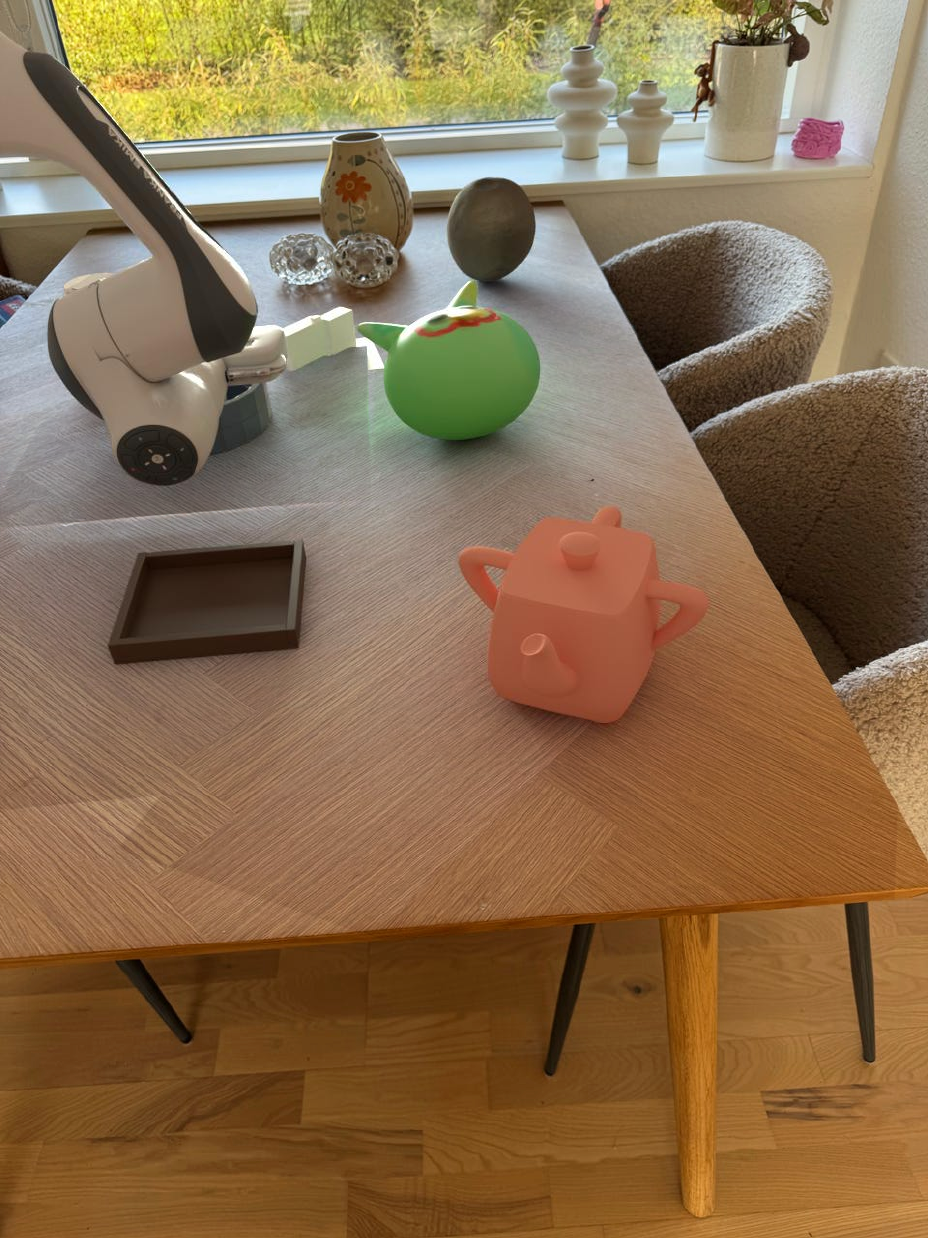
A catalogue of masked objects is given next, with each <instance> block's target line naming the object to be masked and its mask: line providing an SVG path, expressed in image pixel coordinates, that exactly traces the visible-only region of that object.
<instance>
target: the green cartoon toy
mask: <svg viewBox="0 0 928 1238" xmlns="http://www.w3.org/2000/svg"><path fill="white" fill-rule="evenodd" d="M478 287H479V286H478V283H477V280H469V281H467V282H466V283H465V284H464V285H463V287H461V289H460V290H459V291H458V292H457V294H456V295H455V296H454V298H453V299H452V301H451V302H450V303H449V305H448V306H447V307H446V308H445V309H442V310H438V311H436V312H432V313H430V314H428V315H425V316H424V317H421V318H419V319H418V320H416V321H415V322H413V323H412V324H410V325H403V324H402V325H401V324H393V323H384V322H374V321H373V322H371V321H370V322H361V323H359V324H358V325H357V327H356V330H357V332H358V333H359V334H360V335H361V336H363V338H367V339H369V340H370V341H372V342H373V343H374V345H377V346H378V347H380V348H382V349H383V350H385V351H386V352H387V355H386V357H385V361H384V364H383V365H384V368H383V378H382V379H383V386H384V392H385V395H386V398H387V401H388V402H389V405H390V407H392V410H393V411H394V413H395V414H396V415H397V417H398V418H399V419H400V420H401V421H402V422H403V423H404V424H405V425H407V427H408V428H411V429H412V430H414V431H415V432H417V433H419V434H421V435H424V436H426V437H429V438H433V439H437V440H444V441H445V440H446V441H460V440H461V441H463V440H473V439H476V438H481V437H484V436H487V435H490V434H493V433H495V432H497V431H499V430H501V429H503V428H505V427H507V426H508V425H510V424H511V423H512V422H514V421H515V420H516V419H517V418H518V417H520V416H521V415H522V414H523V413H524V412H525V411H526V409H527V408H528V407H529V405H530V404H531V402H533V399H534V397H535V395H536V393H537V390H538V387H539V383H540V379H541V360H540V359H541V358H540V355H539V352H538V348H537V346H536V344H535V341H534V340H533V338H532V337H531V335H530V333H529V332H528V331H527V330H526V328H525V327H524V326H523V325H522V324H521V323H520V322H518V321H517V320H516V319H515V318H513V317H512V316H510V315H508V314H506V313H504V312H501V311H499V310H497V309H494V308H493V309H492V308H488V307H483V306H482V307H481V306H477V302H478V289H479V288H478Z"/></svg>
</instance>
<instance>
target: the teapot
mask: <svg viewBox="0 0 928 1238" xmlns="http://www.w3.org/2000/svg"><path fill="white" fill-rule="evenodd" d="M622 516H623V514H622V511H621V510H620V509H619V508H618V507H616V506H614V505H605V506H603V507H601V508H600V509H599V510H598V511H597V512H596V514H595V515H594V517H593V519H592V521H591V522H588V521H581V520H576V519H569V518H561V517H552V516H547V517H544V518H543V519H541V520H540V521H539V522H537V523H536V524H535V525H534V526H533V527H532V528H531V530H530V531H529V532H528V534H527V535H526V536H525V538H524V539H523V540H522V541H521V543H520V545H519V546H518V548H517V549H516V551H515V553H513V552H511V551H505V550H504V549H503V550H502V549H499V548H493V547H488V546H481V545H480V546H479V545H476V546H469V547H466V548H465V549H463V550H461V552H460V553H459V556H458V561H457V562H458V563H457V564H458V568H459V570H460V572H461V574H462V576H463V578H464V580H465V582H466V583H467V584H468V586H469V587H470V589H471V590H472V591H473V592H474V593H475V594H476V596H477V597H478V598H479V599H480V600H481V601H482V602H483V603H484V604H485V606H486V607H487V608H488V609H489V610H490V611H491V612H492V618H491V622H490V627H489V633H488V641H487V655H486V668H487V669H486V671H487V672H486V674H487V677H488V679H489V683H490V685H491V687H492V688H493V690H494V693H495V694H496V695H497V696H499V697H500V698H503V699H504V700H505V699H506V700H508V701H512V702H514V703H515V704H519V705H525V706H528V707H529V706H530V707H532V708H537V709H541V710H545V711H548V712H552V713H557V714H560V715H561V714H562V715H565V716H571V717H575V718H580V719H584V720H589V721H593V722H595V723H598V724H609V723H613V722H616V721H617V720H619V719H620V718H621V717H622V716H623V715H624V714H625V713H626V711H627V709H628V708H629V707H630V705H631V704H632V702H633V701H634V699H635V697H636V695H637V693H638V692H639V690H640V688H641V686H642V685H643V684H644V683H643V682H644V681H645V679H646V677H647V675H648V672H649V671H650V668H651V666H652V663H653V660H654V657H655V654H656V650H658V649H659V648H661V647H664V646H666V645H667V644H669V643H670V642H671V643H672V642H674V640H676V639H678V638H679V637H681V636H683V635H684V634H686V633H688V632H690V631H691V630H692V629H694V628H695V627H696V626H697V625H698V624H699V623H701V621H702V620H703V619H704V617H705V616H706V614H707V611H708V609H709V606H710V604H709V602H710V600H709V597H708V596H707V594H706V593H704V591H702V590H701V589H699V588H697V587H695V586H692V585H688V584H685V583H680V582H674V581H669V580H661V578H660V577H661V576H660V569H659V564H658V558H657V549H656V545H655V540H654V539H653V536H651V535H649V534H648V533H645V532H640V531H635V530H631V529H627V528H622V521H623V517H622ZM485 567H491V568H496V569H500V570H505V572H504V574H503V577H502V580H501V583H500V586H499V589H498V588H497V586H495V584H494V582H493V581H492V579H491V577H490V576H489V574H488V572H487V569H486V568H485ZM662 601H666V602H671V603H674V604H677V605H678V606H679V609H678V610H677V612H676V613H675V614H674V615H673V616H672V617H671V618H670V619H669V620H668V621H667V622H666V623H664V624H663V625H662V626H661V627H660V623H661V622H660V621H661V605H662Z"/></svg>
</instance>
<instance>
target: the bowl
mask: <svg viewBox="0 0 928 1238" xmlns="http://www.w3.org/2000/svg"><path fill="white" fill-rule="evenodd" d="M226 395H227V401H225V402H224V406H223V410H222V413H221V415H220V417H219V425H218V430H217V434H216V438H215V442H214V445H213V448H212V450H211V452H210V455H209V456H211V455H215V454H220V453H225V452H228V451H230V450H234V449H235V448H238V447H241V446H243V445H246V444H248V443H250V442H251V441H252V440H254V439H256V438H257V437H259V436H260V435H262V433H264V431H265V430H266V429H267V428H268V427H269V426H270V425H271V423H272V422H271V421H272V416H273V411H272V405H271V401H270V396H269V390H268V385H267V382H266V383H259V384H246V385H234V386H228V390H227V394H226Z"/></svg>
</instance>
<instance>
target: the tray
mask: <svg viewBox="0 0 928 1238" xmlns="http://www.w3.org/2000/svg"><path fill="white" fill-rule="evenodd" d="M306 565H307V553H306V548H305V542H304V539H294V540H293V539H292V540H281V541H268V542H255V543H245V544H243V543H242V544H232V545H231V544H230V545H221V546H208V547H196V548H183V549H172V550H159V551H148V552H145V551H144V552H138V553H137V555H136V559H135V561H134V564H133V568H132V571H131V574H130V577H129V579H128V583H127V586H126V588H125V592H124V595H123V598H122V601H121V604H120V607H119V611H118V613H117V616H116V620H115V623H114V625H113V629H112V631H111V634H110V638H109V641H108V643H107V649H108V651H109V653H110V656H111V658H112V661H113V664H114V665H120V664H121V665H122V664H131V663H133V664H134V663H141V662H142V663H145V662H154V661H155V662H156V661H167V660H177V659H179V660H180V659H189V658H199V657H200V658H201V657H202V658H203V657H212V656H213V657H214V656H223V655H224V656H225V655H235V654H246V653H259V652H269V651H280V650H292V649H299V648H300V638H301V626H302V625H301V624H302V614H303V603H304V601H303V600H304V591H305V589H304V588H305V579H306V578H305V577H306Z"/></svg>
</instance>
